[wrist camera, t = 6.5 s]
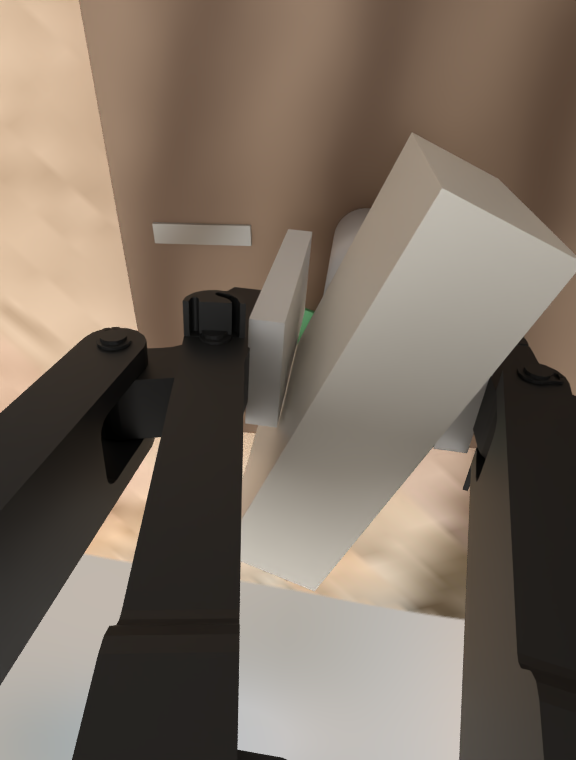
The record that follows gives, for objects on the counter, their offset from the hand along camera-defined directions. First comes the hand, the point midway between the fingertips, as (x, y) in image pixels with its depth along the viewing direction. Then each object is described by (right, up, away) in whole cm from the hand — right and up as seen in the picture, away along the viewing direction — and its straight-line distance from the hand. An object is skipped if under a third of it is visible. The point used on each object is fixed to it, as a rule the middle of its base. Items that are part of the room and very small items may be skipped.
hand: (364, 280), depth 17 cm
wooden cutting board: (+1, +3, +6) cm, 7 cm away
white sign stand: (0, +1, +5) cm, 5 cm away
